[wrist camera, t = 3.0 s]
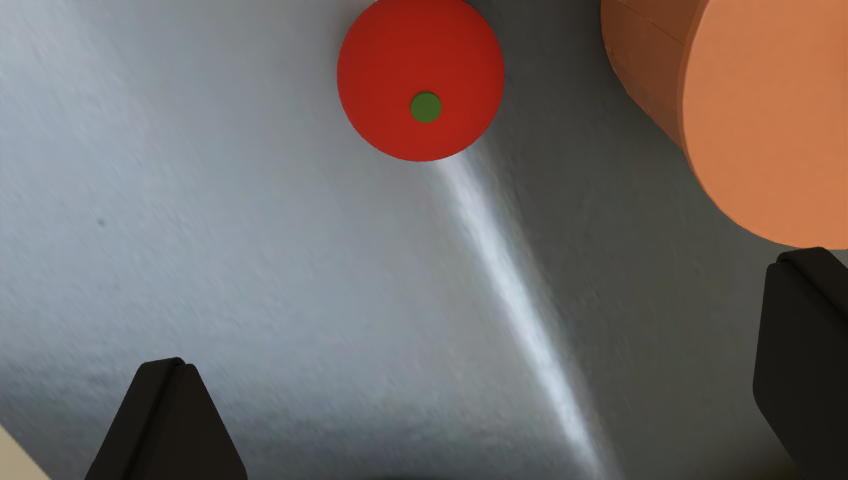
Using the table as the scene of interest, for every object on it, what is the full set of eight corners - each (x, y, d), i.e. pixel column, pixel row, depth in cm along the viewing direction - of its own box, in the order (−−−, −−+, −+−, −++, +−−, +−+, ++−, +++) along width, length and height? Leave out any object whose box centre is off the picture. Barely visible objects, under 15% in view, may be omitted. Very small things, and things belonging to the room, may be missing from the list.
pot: (594, -145, 23) (703, -137, 15) (919, -213, 22) (1201, -240, 15) (604, 145, 29) (686, 257, 21) (861, 97, 28) (1041, 193, 20)
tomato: (324, -9, 25) (309, 32, 19) (480, -41, 24) (508, -8, 19) (360, 136, 28) (356, 206, 22) (499, 109, 27) (527, 174, 22)
